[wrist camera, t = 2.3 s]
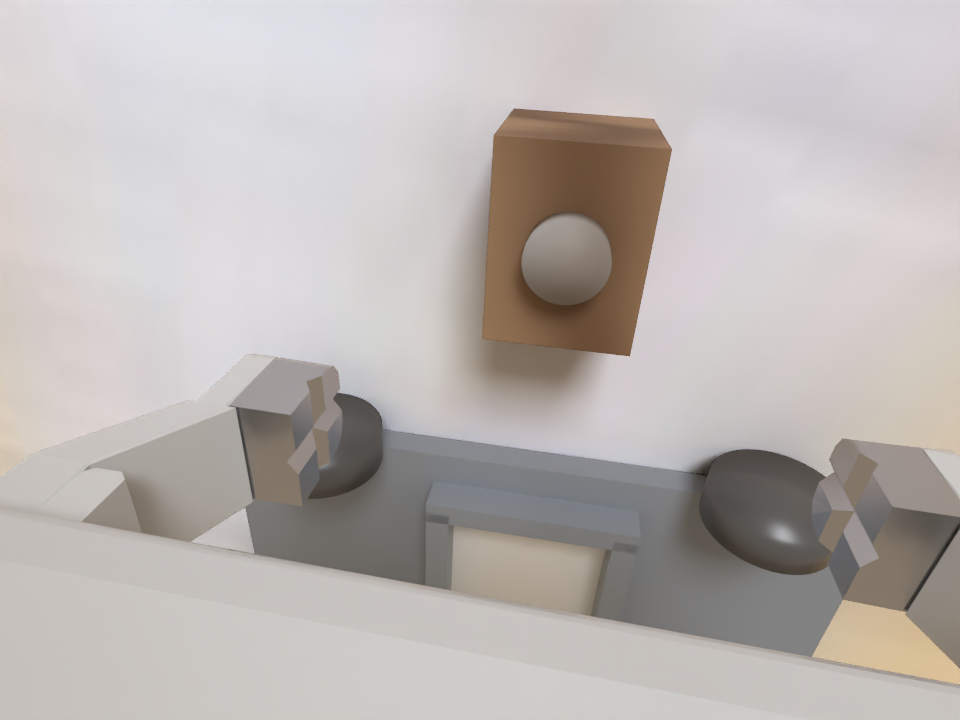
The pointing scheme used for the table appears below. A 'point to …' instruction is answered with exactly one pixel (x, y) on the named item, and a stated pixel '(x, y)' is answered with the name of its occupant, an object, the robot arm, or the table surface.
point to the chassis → (570, 532)
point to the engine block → (571, 228)
